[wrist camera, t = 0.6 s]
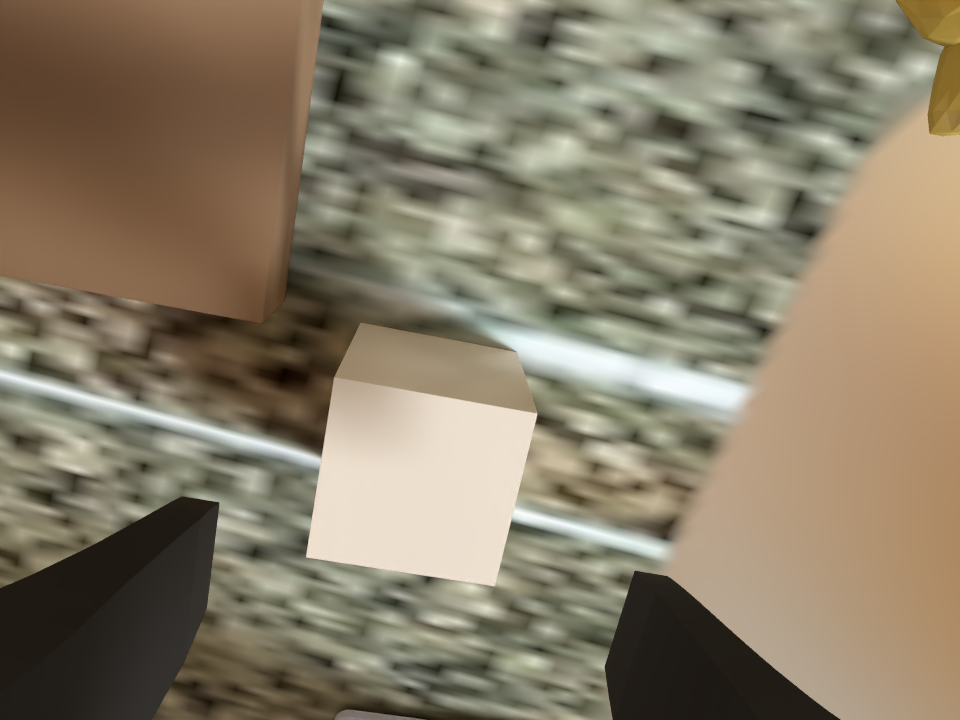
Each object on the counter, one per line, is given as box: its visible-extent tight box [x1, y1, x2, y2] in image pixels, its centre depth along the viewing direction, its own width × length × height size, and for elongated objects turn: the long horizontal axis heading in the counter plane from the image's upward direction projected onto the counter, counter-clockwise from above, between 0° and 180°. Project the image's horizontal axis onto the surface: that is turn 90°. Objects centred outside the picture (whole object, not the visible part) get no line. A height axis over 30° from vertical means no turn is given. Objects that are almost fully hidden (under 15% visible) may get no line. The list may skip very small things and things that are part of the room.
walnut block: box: [0, 0, 324, 323], centre depth 17 cm, size 9×9×3 cm
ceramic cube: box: [306, 323, 537, 586], centre depth 19 cm, size 5×5×5 cm
